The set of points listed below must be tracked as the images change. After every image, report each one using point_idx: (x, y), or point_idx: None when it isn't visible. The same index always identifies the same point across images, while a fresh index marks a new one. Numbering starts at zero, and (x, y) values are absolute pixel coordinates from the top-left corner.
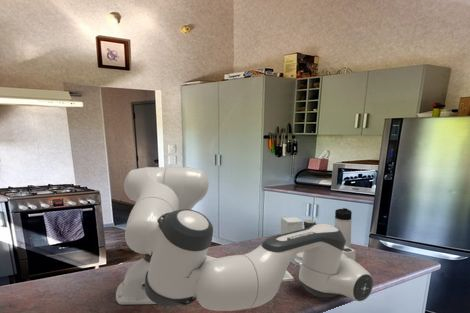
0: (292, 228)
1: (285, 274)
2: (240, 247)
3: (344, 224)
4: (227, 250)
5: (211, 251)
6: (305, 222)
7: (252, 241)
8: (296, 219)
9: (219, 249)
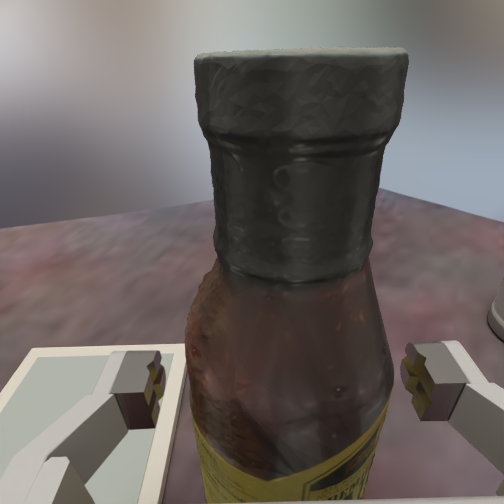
0: None
1: (129, 472)
2: (137, 228)
3: None
4: (82, 238)
5: (29, 238)
6: (195, 65)
7: (199, 207)
8: None
9: (64, 232)
